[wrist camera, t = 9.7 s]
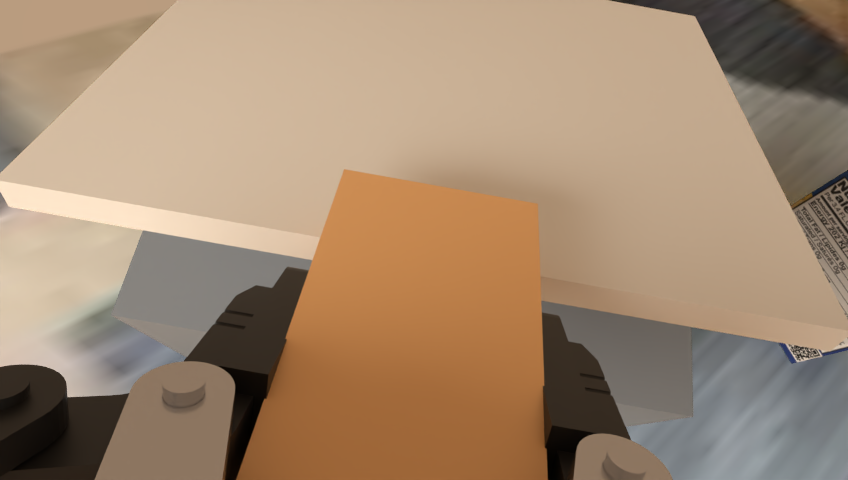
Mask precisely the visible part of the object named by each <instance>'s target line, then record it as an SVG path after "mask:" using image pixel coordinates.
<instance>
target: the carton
mask: <svg viewBox="0 0 848 480" xmlns="http://www.w3.org/2000/svg"><path fill="white" fill-rule="evenodd" d="M311 263H312V260H309V259H303V258H297V257H292V256H286V255H280V254H275V253H269V252H263V251H258V250H252V249H246V248H241V247H235V246H229V245H224V244H218V243H212V242H207V241H201V240H195V239H190V238H184V237H178V236H173V235H167V234H161V233H156V232H150V231H144V230H143V232H142V235H141V237H140V240H139V243H138V245H137V248H136V250H135V253H134V256H133V258H132V261H131V264H130V266H129V269H128V271H127V274H126V277H125V279H124V282H123V284H122V287H121V290H120V292H119V295H118V298H117V300H116V303H115V305H114V308H113V311H112V313H111V316H113V317H115V318H117V319H119V320H120V321H122V322H124V323H126V324H128V325H129V326H131V327H133V328H135V329H137V330H138V331H140V332H142V333H144V334H146V335H147V336H149V337H151V338H153V339H154V340H156V341H158V342H160V343H162V344H163V345H165V346H167V347H169V348H171V349H172V350H174V351H176V352H178V353H180V354H181V355H183V356H185V357H188V355H189V354H190V353H191V352H192V350H193V349H194V348H195V347H196V345H197V344H198V343H199V341H200V340H201V339H202V338H203V336H204V335H205V334H206V333H207V331H208V330H209V329H210V328H211V326H212V325H213V324H215V323H216V320H217V319H218V318H219V316H220V315H221V314H222V313H223V312H225V309H226V308H227V306H228V305H229V304H230V302H231V301H232V300H233V299H234V297H235V296H236V295H238V294H240V293H242V292H244V291H246V290H248V289H250V288H251V287H253V286H255V285H258V286H264V287H269V288H273V286H274V285H275V283H276V282H277V280H278V279H279V277H280V276H281V274H282V273H283V271H284V270H285V269H286V267H294V268H300V269H305V270H309V269H310V266H311ZM541 306H542V312H543V313H548V314H554V315H559V317H560V319H561V322H562V324H563V327H564V330H565V333H566V336H567V339H568V341H569V342H575V343H580V344H582V345H583V346H584V347H585V348H586V349H587V350H588V351H589V352H590V353H591V354H592V355H593V356H594V357H595V358H596V359H597V360H598V362H599V364H600V367H601V369H602V371H603V374H604V376H605V381H607V383H608V386H609V388H610V391H611V395H612V396H613V398H614V400H615V403H616V405H617V407H618V410H619V412H620V415H621V417H622V419H623V422H624V424H625V427H628V426H634V425H641V424H648V423H655V422H661V421H668V420H675V419H681V418H688V417H693V383H692V340H691V327H688V326H683V325H677V324H671V323H666V322H660V321H654V320H649V319H643V318H637V317H632V316H626V315H620V314H615V313H609V312H603V311H598V310H592V309H586V308H581V307H575V306H569V305H564V304H558V303H552V302H547V301H541Z"/></svg>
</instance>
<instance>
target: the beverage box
mask: <svg viewBox="0 0 848 480" xmlns="http://www.w3.org/2000/svg"><path fill="white" fill-rule="evenodd" d="M791 208H792V210H793V212H794V214H795V216H796V218H797V220H798V222H799V224H800V226H801V228H802V230H803V232H804V234H805V236H806V238H807V240H808V242H809V244H810V246H811V248H812V250H813V252H814V254H815V256H816V258H817V260H818V262H819V264H820V266H821V268H822V270H823V272H824V274H825V276H826V278H827V280H828V282H829V284H830V286H831V288H832V290H833V292H834V294H835V296H836V298H837V300H838V302H839V304H840V306H841V308H842V310H843V312H844V314H845V315H846V317H847V319H848V170H847V171H846V172H844V173H842V174H841V175H839V176H838V177H836V178H834V179H833V180H831V181H830V182H828V183H826V184H825V185H823V186H822V187H820V188H818V189H817V190H815V191H814V192H812V193H810V194H809V195H807V196H806V197H804V198H802V199H801V200H799V201H798V202H796V203H794V204H793V205H791ZM778 343H779V342H778ZM779 345H780V346H781V348H782V349H783V351H784V353H785V354H786V356H787V357H788V359H789V361H790V362H791V363H796V362H801V361H805V360H809V359H813V358H817V357H821V356H825V355H829V354H834V353H838V352H842V351H846V350H848V337H847V338H846V339H844V340H843V341H842V342H841V343H840V344H838V345H837V346H836V347H835V348H834V349H832V350H831V351H824V350H819V349H813V348H807V347H802V346H796V345H790V344H785V343H779Z"/></svg>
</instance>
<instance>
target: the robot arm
mask: <svg viewBox="0 0 848 480" xmlns="http://www.w3.org/2000/svg"><path fill="white" fill-rule="evenodd" d="M308 272H309V270H305V269H300V268H294V267H286V269H285V270H284V271H283V273H282V274H281V276H280V277H279V279H278V280H277V282H276V283H275V285H274V286H273V288H269V287H264V286H258V285H255V286H253V287H251V288H250V289H248V290H246V291H244V292H242V293H240V294H238V295H236V296H235V297H234V299H233V300H232V301H231V302H230V304H229V305H228V306H227V308H226V309H225V312H223V313H222V314H221V315H220V316H219V318H218V319H217V320H216V323H215V324H213V325H212V326H211V328H210V329H209V330H208V331H207V333H206V334H205V335H204V336H203V338H202V339H201V340H200V341H199V343H198V344H197V345H196V347H195V348H194V349H193V350H192V352H191V353H190V354H189V355H188V357H187V358H186V359H185V360H184V362H176V363H171V364H166V365H163V366H160V367H158V368H155V369H153V370H151V371H149V372H147V373H146V374H144V375H143V376H142V377H140V378H139V379H138V380H137V381H136V382H135V384H134V385H133V387H132V389H131V391H130V393H128V394H123V395H112V396H90V397H68V398H67V386H66V381H65V379H64V377H63V376H62V375H61V374H60V373H58V372H56V371H55V370H53V369H50V368H47V367H43V366H38V365H10V366H4V367H0V480H236V479H237V476H238V473H239V470H240V467H241V464H242V462H243V459H244V456H245V453H246V450H247V447H248V444H249V441H250V438H251V436H252V433H253V430H254V427H255V424H256V421H257V418H258V415H259V413H260V410H261V407H262V404H263V401H264V399H267V396H268V393H269V390H270V387H271V384H272V381H273V378H274V376H275V373H276V370H277V367H278V364H279V361H280V358H281V355H282V352H283V349H284V347H285V344H286V341H287V339H285V338H286V335H287V332H288V329H289V326H290V323H291V320H292V318H293V315H294V312H295V309H296V306H297V303H298V300H299V297H300V295H301V292H302V289H303V286H304V283H305V280H306V277H307V274H308ZM542 334H543V362H544V386H543V408H544V440H545V448H546V449H547V474H548V480H673V479H672V477H671V475H670V473H669V471H668V470H667V468H666V467H665V465H664V464H663V463H662V462H661V461H660V460H659V459H658V458H657V457H656V456H655V455H654V454H652V453H651V452H650V451H648V450H647V449H646V448H644V447H642V446H641V445H639V444H637V443H635V442H633V441H631V439H630V436H629V434H628V431H627V429H626V427H625V424H624V422H623V419H622V417H621V415H620V412H619V410H618V407H617V405H616V403H615V400H614V398H613V396H612V395H611V391H610V388H609V386H608V383H607V381H605V376H604V374H603V371H602V369H601V367H600V364H599V362H598V360H597V359H596V358H595V357H594V356H593V355H592V354H591V353H590V352H589V351H588V350H587V349H586V348H585V347H584V346H583V345H582V344H580V343H575V342H569V341H568V339H567V336H566V333H565V330H564V327H563V324H562V322H561V319H560V317H559V315H554V314H548V313H543V312H542Z"/></svg>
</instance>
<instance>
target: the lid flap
mask: <svg viewBox="0 0 848 480" xmlns="http://www.w3.org/2000/svg"><path fill="white" fill-rule="evenodd" d="M0 192H1V194H2V195H3V197H4V199H5V201H6V203H7V204H8V206H9V207H14V208H20V209H25V210H31V211H37V212H42V213H48V214H54V215H59V216H65V217H71V218H76V219H82V220H88V221H93V222H99V223H105V224H110V225H116V226H122V227H127V228H133V229H139V230H144V231H150V232H156V233H161V234H167V235H173V236H178V237H184V238H190V239H195V240H201V241H207V242H212V243H218V244H224V245H229V246H235V247H241V248H246V249H252V250H258V251H263V252H269V253H275V254H280V255H286V256H292V257H297V258H303V259H309V260H312V263H311V266H310V269H309V272H308V274H307V277H306V280H305V283H304V286H303V289H302V292H301V295H300V297H299V300H298V303H297V306H296V309H295V312H294V315H293V318H292V320H291V323H290V326H289V329H288V332H287V335H286V338H285V339H287V341H286V344H285V347H284V349H283V352H282V355H281V358H280V361H279V364H278V367H277V370H276V373H275V376H274V378H273V381H272V384H271V387H270V390H269V393H268V396H267V399H264V401H263V404H262V407H261V410H260V413H259V415H258V418H257V421H256V424H255V427H254V430H253V433H252V436H251V438H250V441H249V444H248V447H247V450H246V453H245V456H244V459H243V462H242V464H241V467H240V470H239V473H238V476H237V479H236V480H548V474H547V449H546V448H545V440H544V408H543V386H544V362H543V334H542V306H541V301H547V302H552V303H558V304H564V305H569V306H575V307H581V308H586V309H592V310H598V311H603V312H609V313H615V314H620V315H626V316H632V317H637V318H643V319H649V320H654V321H660V322H666V323H671V324H677V325H683V326H688V327H694V328H700V329H705V330H711V331H717V332H722V333H728V334H734V335H739V336H745V337H751V338H756V339H762V340H768V341H773V342H779V343H785V344H790V345H796V346H802V347H807V348H813V349H819V350H824V351H831V350H832V349H834V348H835V347H836V346H837V345H838V344H840V343H841V342H842V341H843V340H844V339H846V338H847V337H848V319H847V317H846V315H845V314H844V312H843V310H842V308H841V306H840V304H839V302H838V300H837V298H836V296H835V294H834V292H833V290H832V288H831V286H830V284H829V282H828V280H827V278H826V276H825V274H824V272H823V270H822V268H821V266H820V264H819V262H818V260H817V258H816V256H815V254H814V252H813V250H812V248H811V246H810V244H809V242H808V240H807V238H806V236H805V234H804V232H803V230H802V228H801V226H800V224H799V222H798V220H797V218H796V216H795V214H794V212H793V210H792V208H791V206H790V204H789V202H788V200H787V198H786V196H785V194H784V192H783V190H782V188H781V186H780V184H779V182H778V180H777V178H776V176H775V174H774V172H773V171H772V169H771V167H770V165H769V163H768V161H767V159H766V157H765V155H764V153H763V151H762V149H761V147H760V145H759V143H758V141H757V139H756V137H755V135H754V133H753V131H752V129H751V127H750V125H749V123H748V121H747V119H746V117H745V115H744V113H743V111H742V109H741V107H740V105H739V103H738V101H737V99H736V97H735V95H734V93H733V91H732V89H731V87H730V85H729V83H728V81H727V79H726V77H725V75H724V73H723V71H722V69H721V67H720V65H719V63H718V61H717V59H716V57H715V55H714V53H713V51H712V49H711V47H710V45H709V43H708V41H707V39H706V37H705V35H704V33H703V31H702V30H701V28H700V26H699V24H698V22H697V20H696V18H695V16H691V15H685V14H680V13H674V12H669V11H663V10H658V9H652V8H647V7H642V6H636V5H631V4H625V3H620V2H614V1H609V0H177V1H176V2H175V3H174V4H173V5H172V6H171V7H170V8H169V9H168V10H167V11H166V12H165V13H164V14H163V15H162V16H161V17H160V18H159V19H158V20H157V21H155V22H154V23H153V24H152V25H151V26H150V27H149V28H148V29H147V30H146V31H145V32H144V33H143V34H142V35H141V36H140V37H139V38H138V39H137V40H136V41H135V42H134V43H133V44H132V45H131V46H130V47H129V48H128V49H127V50H126V51H125V52H124V53H123V54H122V55H121V56H120V57H119V58H118V59H117V60H116V61H115V62H114V63H113V64H111V65H110V66H109V67H108V68H107V69H106V70H105V71H104V72H103V73H102V74H101V75H100V76H99V77H98V78H97V79H96V80H95V81H94V82H93V83H92V84H91V85H90V86H89V87H88V88H87V89H86V90H85V91H84V92H83V93H82V94H81V95H80V96H79V97H78V98H77V99H76V100H75V101H74V102H73V103H72V104H71V105H70V106H69V107H67V108H66V109H65V110H64V111H63V112H62V113H61V114H60V115H59V116H58V117H57V118H56V119H55V120H54V121H53V122H52V123H51V124H50V125H49V126H48V127H47V128H46V129H45V130H44V131H43V132H42V133H41V134H40V135H39V136H38V137H37V138H36V139H35V140H34V141H33V142H32V143H31V144H30V145H29V146H28V147H27V148H26V149H25V150H24V151H22V152H21V153H20V154H19V155H18V156H17V157H16V158H15V159H14V160H13V161H12V162H11V163H10V164H9V165H8V166H7V167H6V168H5V169H4V170H3V171H2V172H1V173H0Z"/></svg>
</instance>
